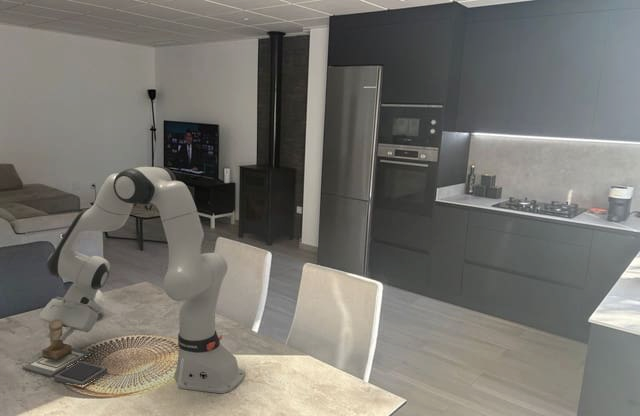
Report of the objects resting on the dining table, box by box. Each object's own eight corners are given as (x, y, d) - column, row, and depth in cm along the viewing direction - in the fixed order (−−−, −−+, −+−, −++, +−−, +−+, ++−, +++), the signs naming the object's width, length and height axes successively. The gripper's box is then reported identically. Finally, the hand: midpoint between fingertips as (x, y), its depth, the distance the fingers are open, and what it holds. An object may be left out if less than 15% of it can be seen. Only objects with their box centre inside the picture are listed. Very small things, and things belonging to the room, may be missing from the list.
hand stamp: (71, 353, 157) (70, 318, 155) (56, 361, 151) (54, 325, 149) (58, 349, 159) (56, 314, 157) (42, 357, 153) (40, 321, 151)
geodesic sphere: (52, 305, 186) (67, 282, 181) (78, 294, 199) (93, 272, 194) (76, 331, 184) (92, 308, 180) (101, 318, 197) (117, 296, 193)
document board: (91, 354, 161) (91, 352, 161) (51, 377, 146) (50, 374, 146) (64, 347, 165) (64, 345, 165) (22, 369, 150) (22, 366, 150)
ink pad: (107, 372, 150) (106, 367, 150) (82, 388, 141) (81, 382, 141) (80, 365, 154) (80, 360, 153) (54, 380, 144) (54, 375, 144)
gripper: (48, 291, 161) (24, 329, 154) (95, 301, 155) (72, 341, 148) (60, 299, 166) (37, 336, 159) (106, 309, 160) (84, 348, 153)
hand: (54, 338), depth 153 cm, fingers closed on hand stamp, 4 cm apart
